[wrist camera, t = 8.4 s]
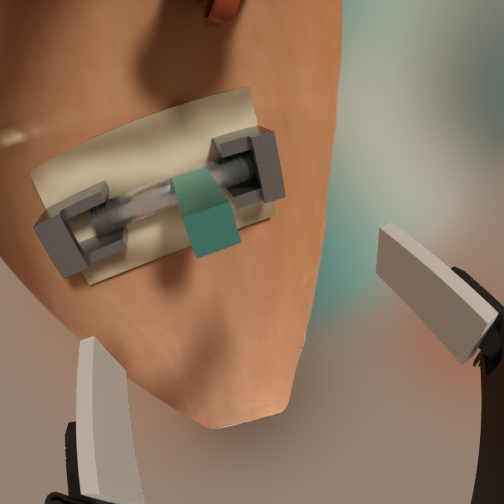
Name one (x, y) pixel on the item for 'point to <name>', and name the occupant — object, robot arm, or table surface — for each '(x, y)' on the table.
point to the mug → (219, 12)
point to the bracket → (64, 241)
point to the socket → (266, 165)
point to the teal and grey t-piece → (185, 202)
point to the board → (148, 173)
